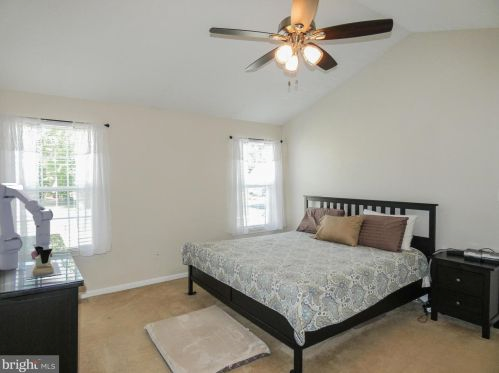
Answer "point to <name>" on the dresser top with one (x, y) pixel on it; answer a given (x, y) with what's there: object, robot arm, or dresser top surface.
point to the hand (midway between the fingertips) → (43, 261)
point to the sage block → (39, 263)
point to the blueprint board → (30, 274)
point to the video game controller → (34, 254)
